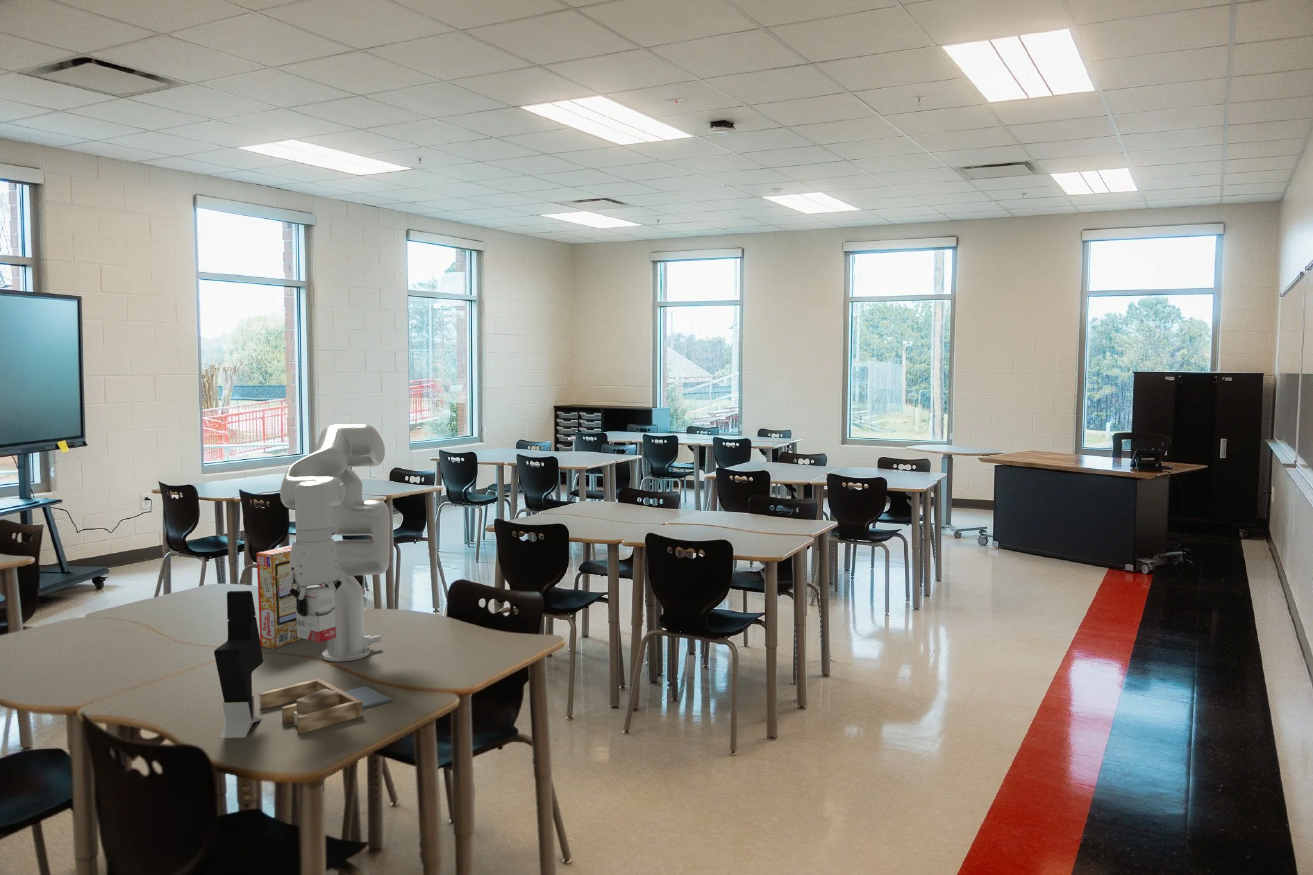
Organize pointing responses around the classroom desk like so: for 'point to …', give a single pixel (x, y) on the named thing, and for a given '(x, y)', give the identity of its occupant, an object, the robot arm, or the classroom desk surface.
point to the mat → (368, 696)
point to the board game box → (276, 599)
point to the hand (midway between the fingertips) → (315, 611)
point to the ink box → (318, 615)
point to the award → (239, 664)
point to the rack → (315, 720)
